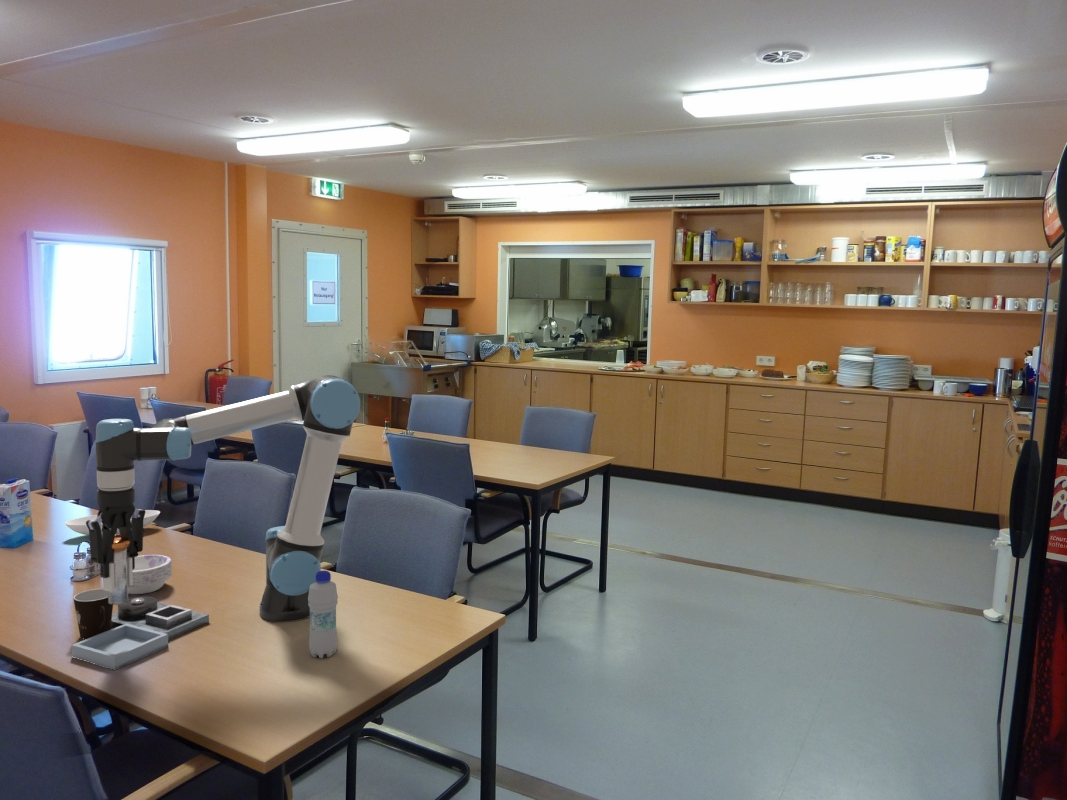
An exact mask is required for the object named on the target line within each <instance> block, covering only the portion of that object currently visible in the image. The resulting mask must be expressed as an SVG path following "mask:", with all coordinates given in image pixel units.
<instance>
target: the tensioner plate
mask: <svg viewBox="0 0 1067 800" xmlns="http://www.w3.org/2000/svg"><path fill="white" fill-rule="evenodd" d="M126 623H127V624H131V625H134V626H138V627H142V628H146V629H150V630H154V631H158V632H162V633H165V634H168V641H169V640H171V639H173V638H176V637H179V636H180V635H183V634H185V633H188V632H190V631H191V630H194V629H196V628H199V627H201V626H203V625H206V624H208V623H210V614H209V613H204V612H200V611H196V610H192V609H190V608H185V607H182V606H178V605H174V604H166V603H163V602H158V599H157V598H156V597H152V596H138V597H137V596H136V597H132V598H128V601H127V602H125V603H121V604H117V611H115V612H112V620H111V629H114V628H116V627H119V626H121V625H124V624H126Z"/></svg>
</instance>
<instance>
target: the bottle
mask: <svg viewBox="0 0 1067 800" xmlns="http://www.w3.org/2000/svg"><path fill="white" fill-rule="evenodd" d="M331 578H332V576H331V573H330V571H328V570H321V571H319V572H317V574H316V582H315V583H313V584H311V585H310V588H309V596H308V602H309V603H308V605H309V607H310V617H309V637H308V649H309V653H310V654H311V657H313V658H317V657H319V659H324V656H325V655H326V657H327V658H330V657H331V656H333V655H334V654H335V653H336V652H337V647H338V638H337V637H338V636H337V604H338V602H339V601H338V598H339V596H338V589H337V584H336V583H335V582H333V581H331V580H332V579H331Z"/></svg>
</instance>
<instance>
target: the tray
mask: <svg viewBox="0 0 1067 800" xmlns="http://www.w3.org/2000/svg"><path fill="white" fill-rule="evenodd" d="M70 646H71V657H72V656H73V657H76V658H79V659H82V660H86V661H89V662H92V663H95V664H98V665H101V666H100V667H102V666H104V667H103V668H105V667H107V668H106V669H108V668H110V669H109V670H112V669H113V670H112V671H117V670H119V669H121V668H123V667H127V665H130V664H132V663H134V662H136V661H139V660H141V659H143V658H145V657H147V656H149V655H153V654H154V653H157V652H159V651H161V650H163V649H165V648H167V647H169V640H168V634H165V633H162V632H158V631H154V630H150V629H146V628H142V627H138V626H134V625H131V624H127V623H126V624H124V625H121V626H119V627H116V628H114V629H111V630H108V631H106V632H103V633H101V634H98V635H96V636H93V637H91V638H88V639H86V640H84V639H82V640H81V641H79V642H75V643H73V644H71V645H70ZM95 664H94V665H95ZM98 665H97V666H98ZM118 668H119V669H118ZM116 669H117V670H116Z"/></svg>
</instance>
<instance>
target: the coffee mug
mask: <svg viewBox="0 0 1067 800" xmlns="http://www.w3.org/2000/svg"><path fill="white" fill-rule="evenodd" d="M72 599H73V603H74V609H75V615H76V616H75V617H76V620H77V627H78V632H79V637H81V638H84V639H88V638H91V637H93V636H96V635H98V634H101V633H103V632H106V631H108V630H111V620H112V613H113V609H114V604H109V603H108V591H105V590H103V588H93V589H88V590H84V591H81V592H79V593H77V594H75V595H73V597H72ZM81 638H80V639H81ZM84 639H83V640H84Z"/></svg>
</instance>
